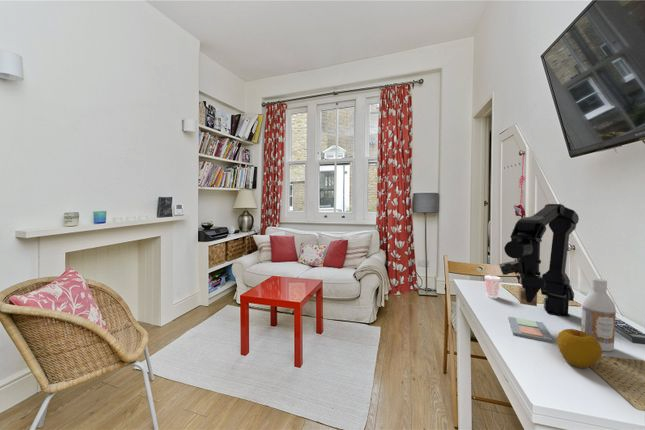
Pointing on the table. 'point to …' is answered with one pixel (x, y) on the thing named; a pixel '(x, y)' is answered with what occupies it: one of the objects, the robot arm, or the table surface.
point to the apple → (579, 348)
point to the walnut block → (523, 298)
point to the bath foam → (599, 315)
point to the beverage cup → (492, 285)
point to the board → (529, 329)
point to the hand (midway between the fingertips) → (527, 300)
